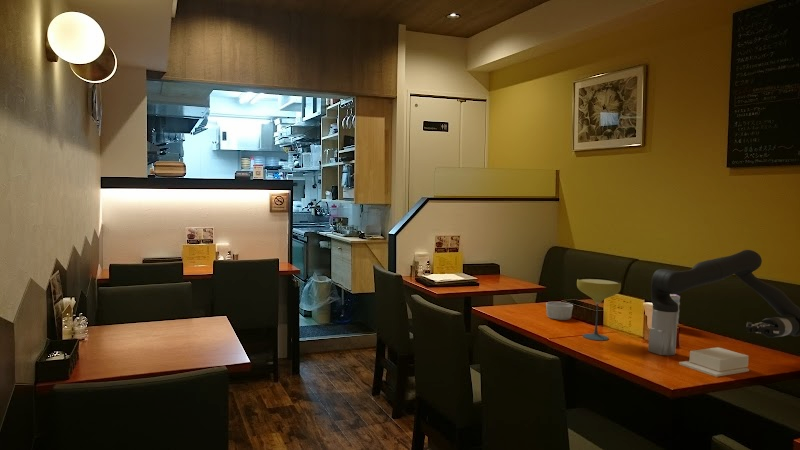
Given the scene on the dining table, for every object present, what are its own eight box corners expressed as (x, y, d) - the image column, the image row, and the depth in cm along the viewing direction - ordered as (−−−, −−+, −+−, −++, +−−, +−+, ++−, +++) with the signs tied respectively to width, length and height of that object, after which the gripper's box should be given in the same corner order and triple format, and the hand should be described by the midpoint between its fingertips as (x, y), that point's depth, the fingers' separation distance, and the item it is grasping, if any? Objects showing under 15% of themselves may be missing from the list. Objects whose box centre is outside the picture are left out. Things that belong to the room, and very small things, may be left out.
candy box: (678, 331, 266) (681, 296, 265) (665, 330, 267) (667, 295, 266) (670, 324, 280) (673, 291, 279) (658, 323, 281) (660, 290, 280)
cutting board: (716, 376, 200) (716, 374, 200) (679, 364, 214) (679, 362, 214) (749, 371, 208) (749, 369, 208) (711, 359, 222) (711, 357, 221)
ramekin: (551, 313, 296) (551, 300, 295) (576, 317, 288) (577, 304, 288) (541, 317, 285) (541, 304, 285) (567, 322, 277) (567, 308, 277)
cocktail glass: (594, 344, 237) (597, 284, 236) (565, 333, 254) (568, 277, 252) (627, 341, 245) (630, 283, 243) (596, 330, 261) (599, 276, 260)
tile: (747, 367, 210) (719, 372, 203) (717, 358, 221) (689, 362, 214) (748, 355, 210) (720, 360, 203) (718, 347, 221) (690, 351, 214)
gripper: (760, 314, 231) (732, 316, 224) (794, 321, 219) (766, 324, 212) (758, 332, 232) (730, 335, 224) (792, 340, 220) (764, 344, 212)
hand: (747, 329), depth 218 cm, fingers closed
